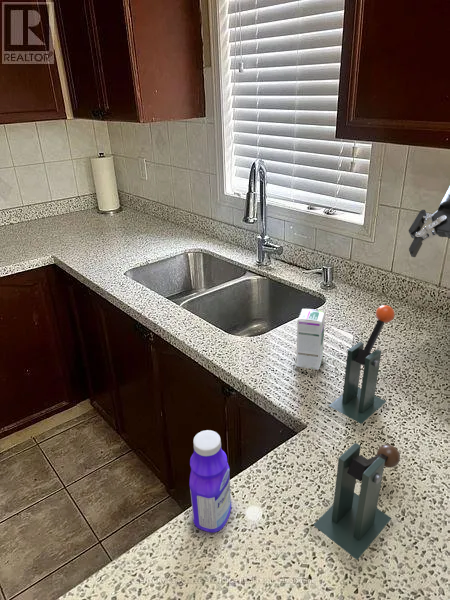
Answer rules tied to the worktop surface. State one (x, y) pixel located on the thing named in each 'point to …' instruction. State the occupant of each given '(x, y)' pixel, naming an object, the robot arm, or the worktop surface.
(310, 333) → the syrup box
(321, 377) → the worktop surface
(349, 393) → the bracket
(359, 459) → the rod
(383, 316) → the rod
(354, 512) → the bracket
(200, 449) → the bottle
